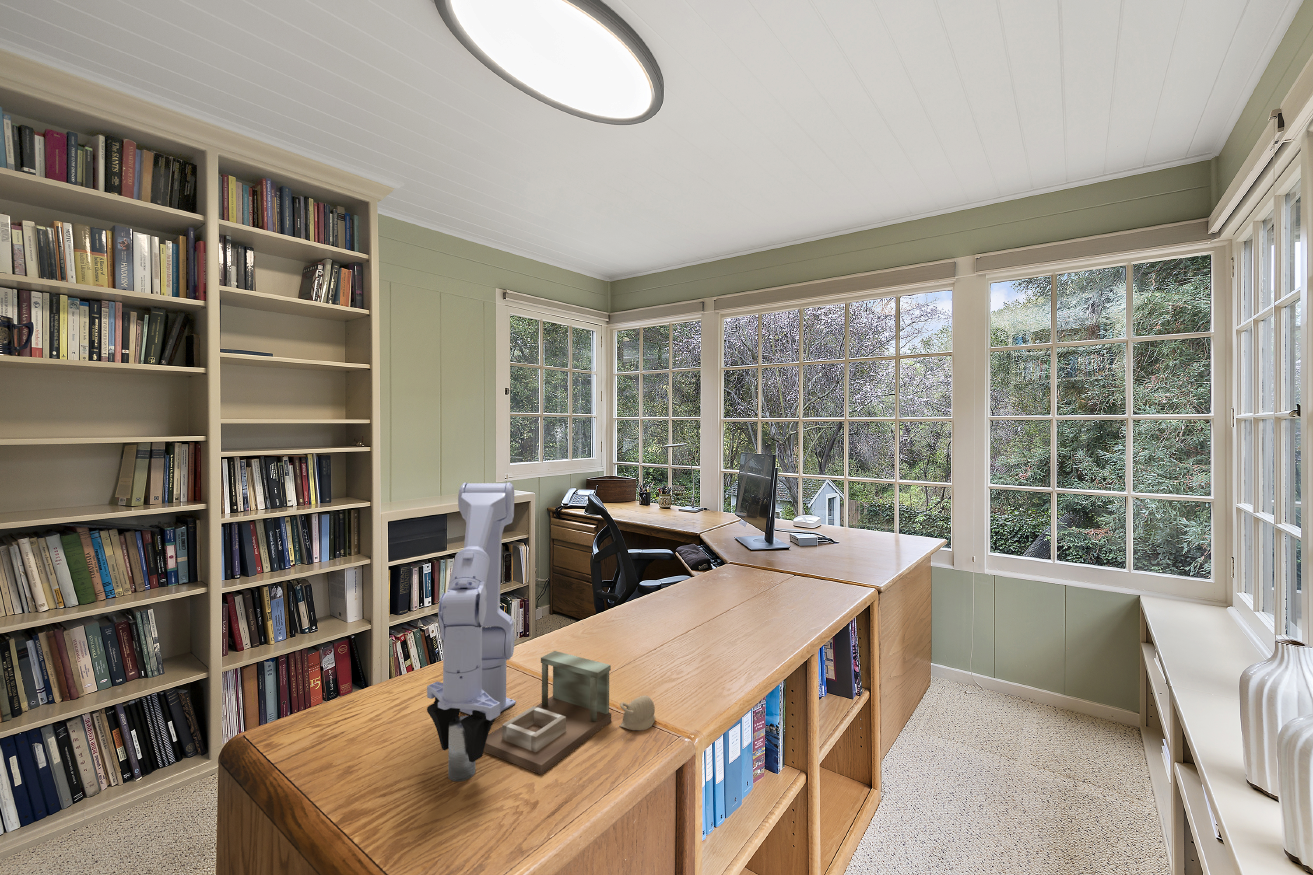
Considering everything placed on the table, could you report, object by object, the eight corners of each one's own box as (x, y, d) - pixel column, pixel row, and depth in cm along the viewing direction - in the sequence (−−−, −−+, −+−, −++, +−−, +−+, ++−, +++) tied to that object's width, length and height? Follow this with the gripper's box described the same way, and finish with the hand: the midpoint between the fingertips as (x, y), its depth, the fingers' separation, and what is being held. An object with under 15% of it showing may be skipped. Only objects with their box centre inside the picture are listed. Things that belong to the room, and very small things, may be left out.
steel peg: (442, 776, 84) (443, 724, 85) (463, 763, 88) (463, 713, 88) (460, 784, 82) (460, 731, 83) (480, 770, 86) (481, 719, 86)
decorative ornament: (661, 723, 101) (661, 694, 101) (624, 738, 96) (624, 707, 96) (648, 714, 104) (648, 686, 104) (611, 728, 99) (612, 699, 99)
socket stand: (478, 749, 92) (479, 687, 92) (553, 702, 108) (553, 650, 108) (541, 774, 85) (541, 707, 85) (611, 721, 101) (611, 665, 101)
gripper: (410, 665, 86) (409, 751, 85) (474, 685, 78) (474, 780, 78) (447, 650, 92) (447, 731, 91) (510, 668, 84) (510, 756, 84)
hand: (462, 752), depth 85 cm, fingers open, 6 cm apart
